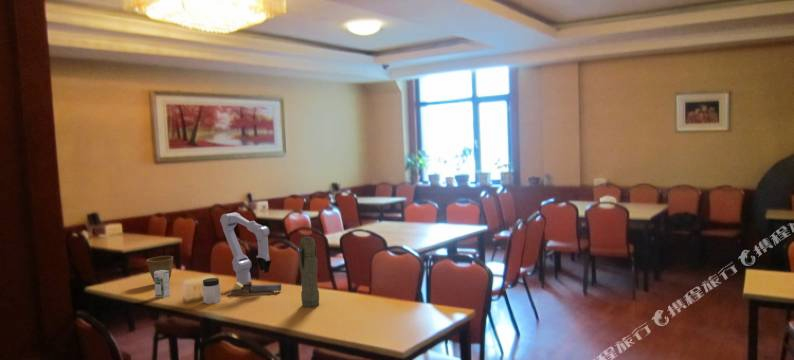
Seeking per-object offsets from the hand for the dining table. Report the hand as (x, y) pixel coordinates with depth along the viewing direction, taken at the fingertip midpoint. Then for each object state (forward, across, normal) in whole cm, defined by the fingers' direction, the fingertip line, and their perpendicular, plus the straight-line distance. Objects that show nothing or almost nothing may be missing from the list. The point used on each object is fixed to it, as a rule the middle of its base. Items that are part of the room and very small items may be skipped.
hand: (264, 271), depth 334 cm
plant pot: (+11, -54, -48) cm, 73 cm away
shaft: (+9, +7, -3) cm, 12 cm away
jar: (+11, +7, -32) cm, 34 cm away
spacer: (+8, +1, -14) cm, 16 cm away
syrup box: (+11, -23, -52) cm, 58 cm away
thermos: (+11, +48, +8) cm, 49 cm away
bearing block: (+10, +4, -9) cm, 14 cm away
